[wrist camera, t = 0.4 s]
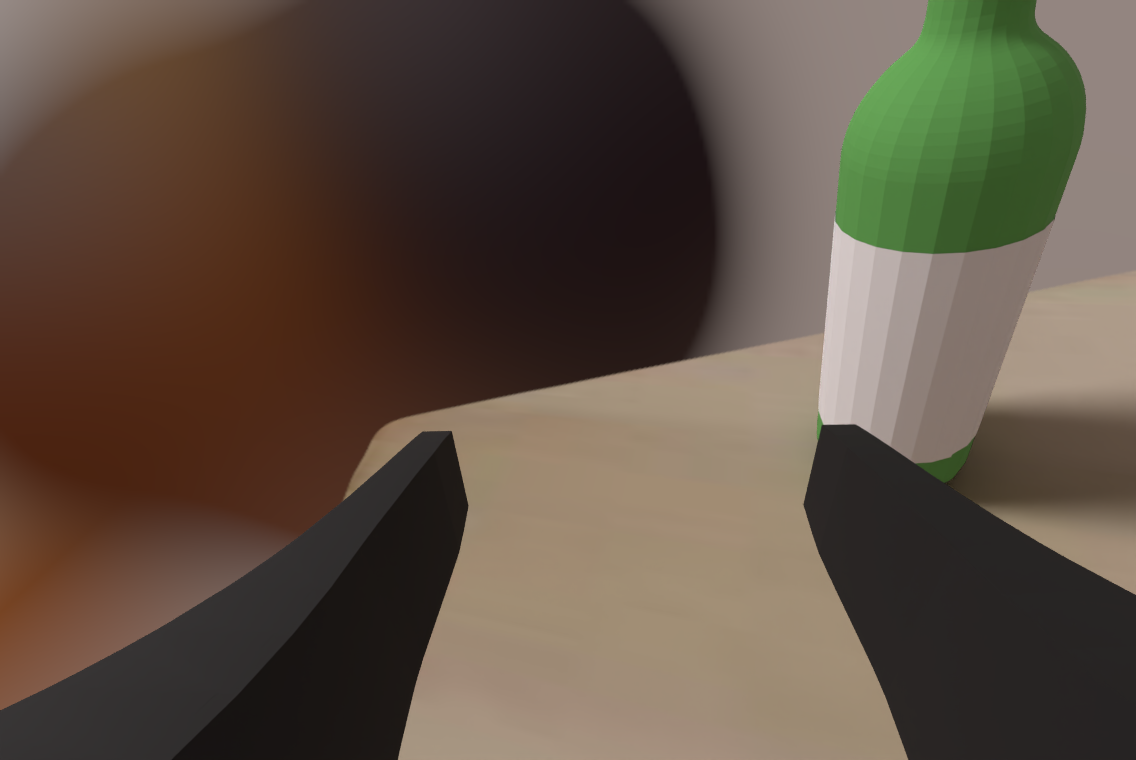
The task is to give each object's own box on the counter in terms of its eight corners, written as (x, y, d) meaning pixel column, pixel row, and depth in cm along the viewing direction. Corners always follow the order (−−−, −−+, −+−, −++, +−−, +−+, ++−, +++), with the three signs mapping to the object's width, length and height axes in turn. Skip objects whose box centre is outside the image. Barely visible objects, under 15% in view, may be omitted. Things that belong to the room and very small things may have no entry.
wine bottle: (993, 452, 29) (1371, -465, 11) (906, 528, 27) (1192, -449, 9) (867, 390, 35) (977, -280, 17) (787, 449, 33) (812, -244, 15)
